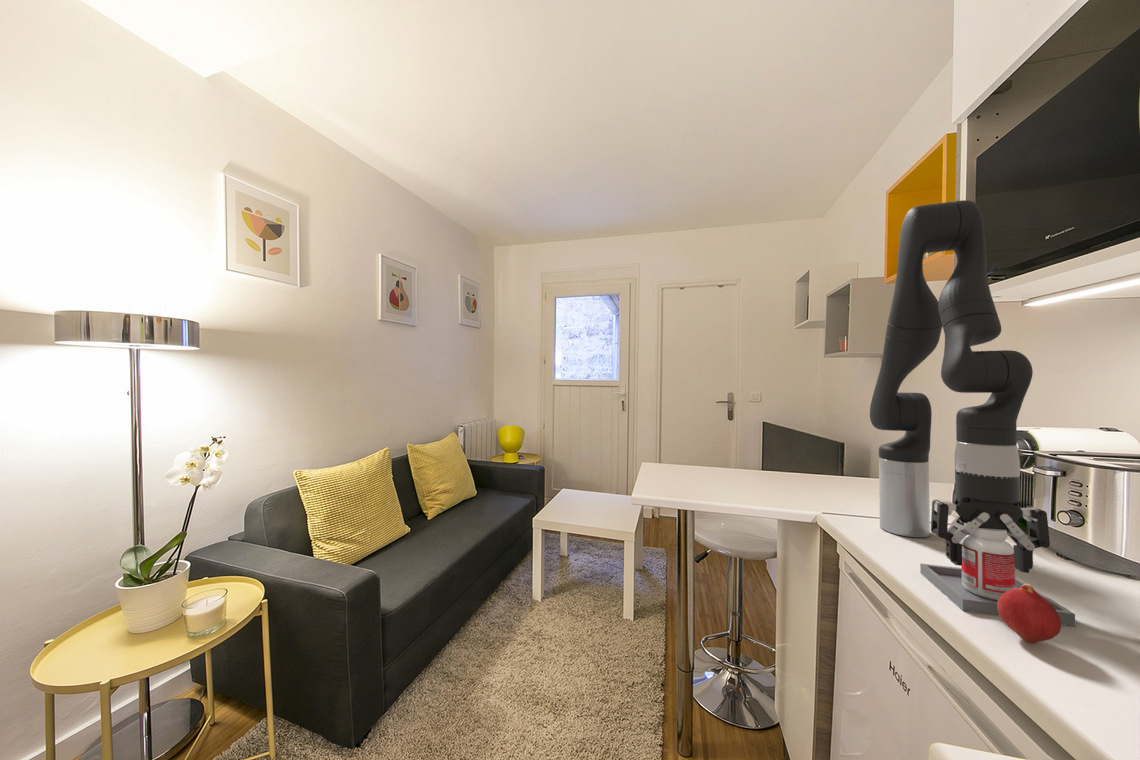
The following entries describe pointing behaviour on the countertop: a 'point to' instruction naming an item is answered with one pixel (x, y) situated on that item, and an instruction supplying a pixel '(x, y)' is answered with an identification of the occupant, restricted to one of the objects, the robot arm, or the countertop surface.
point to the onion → (1029, 614)
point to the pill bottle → (987, 563)
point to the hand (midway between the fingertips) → (987, 566)
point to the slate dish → (952, 587)
